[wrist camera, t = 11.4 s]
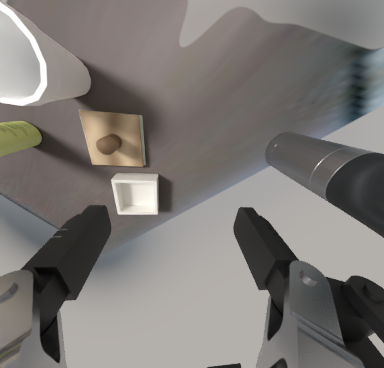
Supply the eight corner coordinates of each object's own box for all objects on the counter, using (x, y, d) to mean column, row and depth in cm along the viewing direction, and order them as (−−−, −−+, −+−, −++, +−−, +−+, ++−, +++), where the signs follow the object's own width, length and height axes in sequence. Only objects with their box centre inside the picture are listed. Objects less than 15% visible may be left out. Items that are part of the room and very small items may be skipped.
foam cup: (97, 113, 29) (48, 118, 18) (42, 92, 27) (-54, 84, 16) (102, 57, 25) (44, 20, 14) (39, 28, 23) (-92, -47, 12)
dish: (158, 173, 37) (156, 181, 34) (159, 205, 42) (157, 214, 38) (117, 172, 36) (111, 179, 32) (122, 204, 40) (118, 214, 37)
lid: (139, 115, 30) (133, 117, 25) (143, 165, 35) (138, 174, 30) (81, 110, 28) (63, 111, 24) (94, 162, 33) (81, 172, 29)
